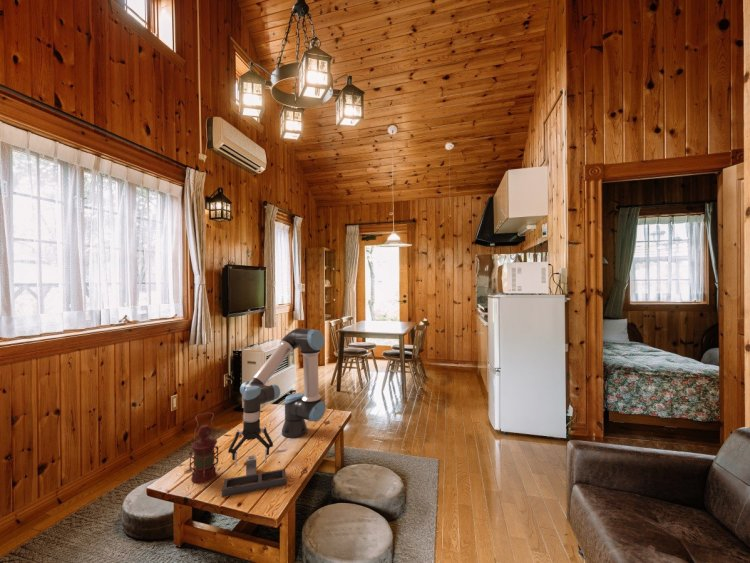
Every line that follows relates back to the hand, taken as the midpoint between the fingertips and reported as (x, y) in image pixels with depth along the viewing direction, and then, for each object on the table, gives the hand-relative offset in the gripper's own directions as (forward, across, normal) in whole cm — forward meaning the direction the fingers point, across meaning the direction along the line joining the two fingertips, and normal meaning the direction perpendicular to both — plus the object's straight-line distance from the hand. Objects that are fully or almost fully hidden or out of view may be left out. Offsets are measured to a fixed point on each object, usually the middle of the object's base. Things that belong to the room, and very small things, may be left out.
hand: (250, 464), depth 159 cm
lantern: (+4, +21, -3) cm, 21 cm away
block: (+4, 0, 0) cm, 4 cm away
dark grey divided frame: (+4, -2, +12) cm, 13 cm away
